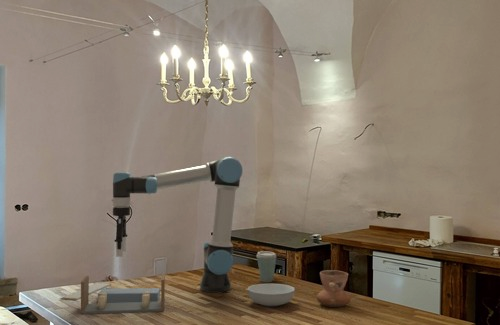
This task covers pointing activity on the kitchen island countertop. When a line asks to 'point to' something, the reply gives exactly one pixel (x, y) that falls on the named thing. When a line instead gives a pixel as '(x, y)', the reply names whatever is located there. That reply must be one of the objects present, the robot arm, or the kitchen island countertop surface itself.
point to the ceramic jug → (333, 289)
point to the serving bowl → (271, 294)
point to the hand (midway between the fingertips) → (121, 253)
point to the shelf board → (130, 295)
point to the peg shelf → (119, 307)
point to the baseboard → (92, 289)
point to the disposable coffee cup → (266, 265)
